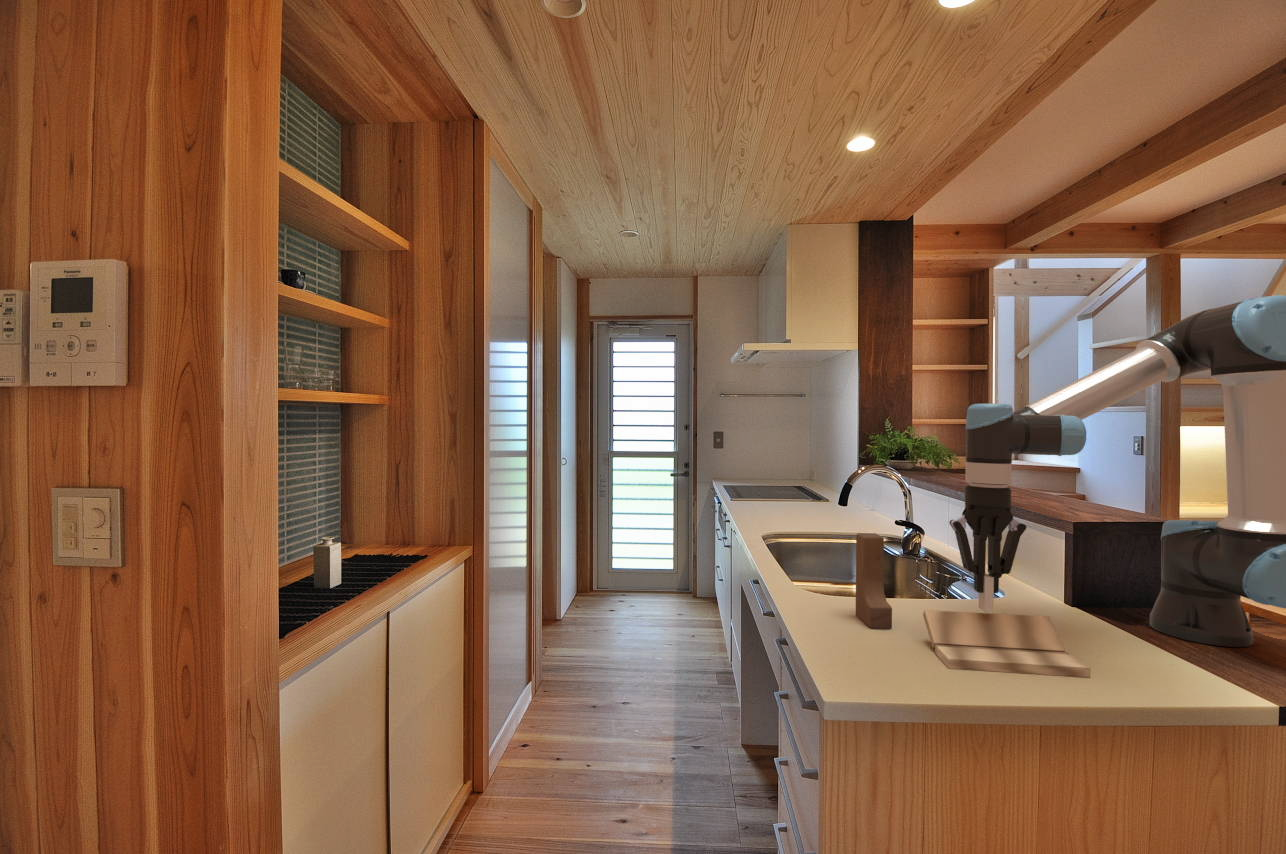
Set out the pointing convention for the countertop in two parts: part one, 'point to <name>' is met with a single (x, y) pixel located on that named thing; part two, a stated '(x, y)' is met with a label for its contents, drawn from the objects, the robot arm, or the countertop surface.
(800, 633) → the countertop surface
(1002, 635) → the board
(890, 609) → the wooden block
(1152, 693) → the countertop surface
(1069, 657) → the laid board
